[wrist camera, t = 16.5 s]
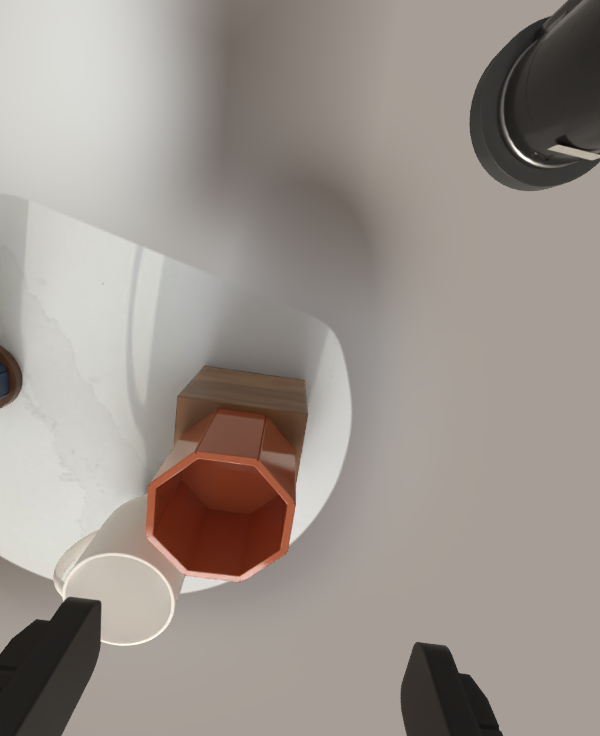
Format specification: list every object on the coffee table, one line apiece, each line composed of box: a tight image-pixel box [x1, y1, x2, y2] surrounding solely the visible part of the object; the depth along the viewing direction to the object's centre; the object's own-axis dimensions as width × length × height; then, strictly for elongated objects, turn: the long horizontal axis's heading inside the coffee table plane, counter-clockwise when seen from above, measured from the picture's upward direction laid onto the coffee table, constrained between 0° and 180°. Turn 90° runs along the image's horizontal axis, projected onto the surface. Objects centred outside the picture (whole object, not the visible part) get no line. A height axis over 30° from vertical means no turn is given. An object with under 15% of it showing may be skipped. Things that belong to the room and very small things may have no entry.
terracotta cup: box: [145, 408, 296, 582], centre depth 27 cm, size 9×9×7 cm
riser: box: [174, 366, 308, 482], centre depth 35 cm, size 10×10×9 cm
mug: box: [54, 493, 186, 645], centre depth 36 cm, size 12×9×12 cm
